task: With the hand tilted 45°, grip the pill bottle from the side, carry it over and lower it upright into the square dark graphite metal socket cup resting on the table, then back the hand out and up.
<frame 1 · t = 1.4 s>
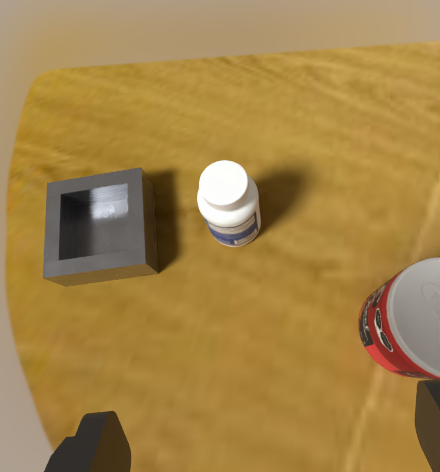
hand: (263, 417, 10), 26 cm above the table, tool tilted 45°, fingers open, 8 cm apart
canned food: (400, 330, 35), on the table
socket cup: (112, 235, 42), on the table
pill bottle: (235, 224, 40), on the table
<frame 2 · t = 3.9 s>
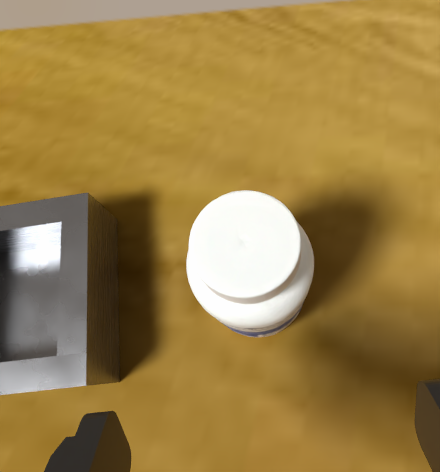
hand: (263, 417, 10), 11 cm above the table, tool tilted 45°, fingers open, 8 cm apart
socket cup: (44, 305, 25), on the table
pill bottle: (256, 291, 23), on the table
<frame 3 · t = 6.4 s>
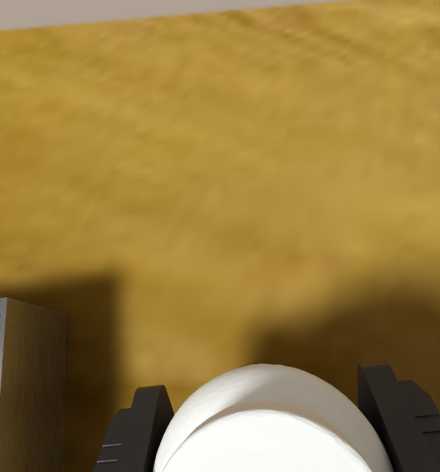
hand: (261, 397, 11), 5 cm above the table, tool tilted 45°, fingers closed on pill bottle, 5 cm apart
pill bottle: (272, 437, 15), on the table, touching gripper
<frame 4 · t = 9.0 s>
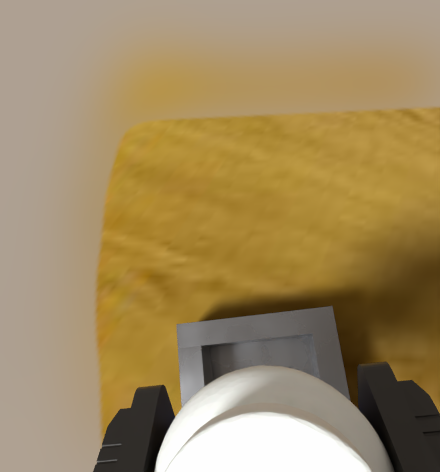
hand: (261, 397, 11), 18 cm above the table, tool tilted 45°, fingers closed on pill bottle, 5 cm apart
socket cup: (265, 393, 27), on the table
pill bottle: (272, 438, 15), point 13 cm above the table, touching gripper
when the fingers open (7 cm above the table, at t = 12.0 s): pill bottle drops 2 cm, resting on socket cup.
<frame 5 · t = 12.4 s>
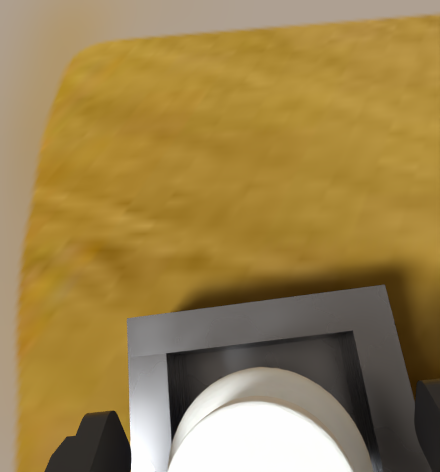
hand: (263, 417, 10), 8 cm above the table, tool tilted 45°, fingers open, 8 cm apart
socket cup: (272, 427, 18), on the table, touching pill bottle
pill bottle: (275, 435, 17), resting on socket cup
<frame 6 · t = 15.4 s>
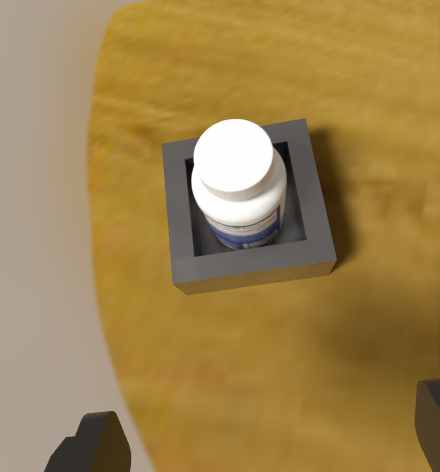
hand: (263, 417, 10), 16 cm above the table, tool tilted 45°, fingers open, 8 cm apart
socket cup: (247, 221, 29), on the table, touching pill bottle
pill bottle: (247, 218, 28), resting on socket cup
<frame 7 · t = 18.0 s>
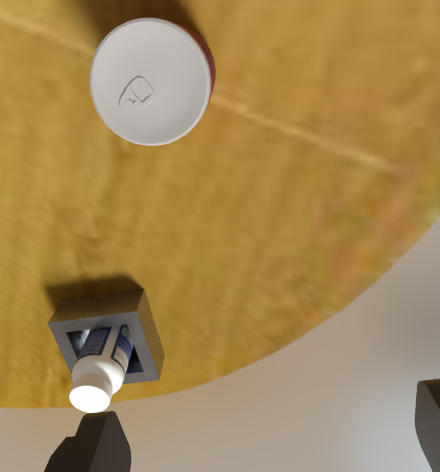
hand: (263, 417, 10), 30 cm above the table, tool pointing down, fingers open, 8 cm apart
canned food: (172, 74, 35), on the table
socket cup: (116, 326, 48), on the table, touching pill bottle
pill bottle: (114, 330, 47), resting on socket cup
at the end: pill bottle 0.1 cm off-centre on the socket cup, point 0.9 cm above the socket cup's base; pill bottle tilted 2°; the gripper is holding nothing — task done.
